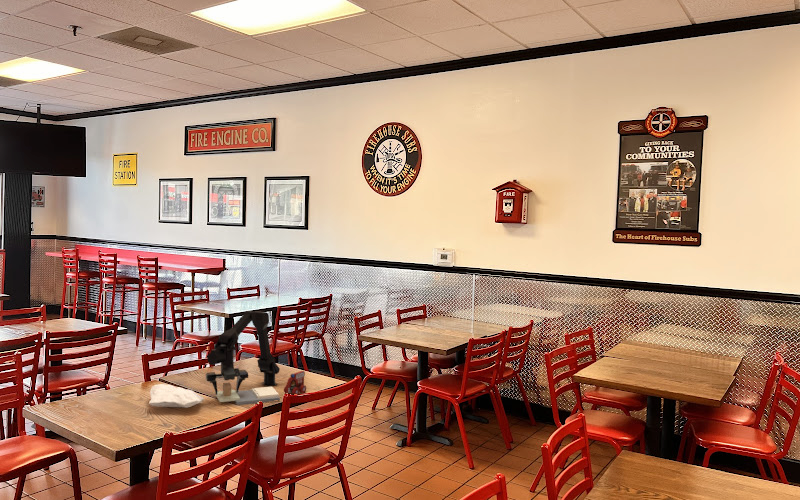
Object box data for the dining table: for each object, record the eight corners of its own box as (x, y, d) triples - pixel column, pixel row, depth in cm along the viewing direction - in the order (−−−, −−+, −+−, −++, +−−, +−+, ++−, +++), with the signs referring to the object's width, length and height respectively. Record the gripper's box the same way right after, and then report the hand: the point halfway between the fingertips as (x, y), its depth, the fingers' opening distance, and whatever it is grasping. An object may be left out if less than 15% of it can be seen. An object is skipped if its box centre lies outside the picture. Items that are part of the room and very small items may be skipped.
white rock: (167, 418, 260) (170, 396, 260) (127, 400, 282) (130, 380, 283) (215, 414, 277) (218, 394, 278) (174, 397, 300) (177, 378, 301)
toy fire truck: (280, 395, 303) (281, 374, 302) (298, 389, 313) (298, 369, 313) (291, 397, 299) (292, 376, 298) (308, 391, 309) (309, 371, 309)
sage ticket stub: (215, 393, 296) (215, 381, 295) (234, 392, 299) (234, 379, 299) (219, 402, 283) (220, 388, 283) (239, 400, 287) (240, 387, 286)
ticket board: (229, 394, 301) (230, 388, 300) (270, 390, 309) (271, 385, 309) (236, 405, 284) (236, 399, 284) (279, 400, 293) (279, 394, 293)
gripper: (208, 366, 279) (208, 400, 280) (250, 363, 287) (250, 396, 288) (205, 360, 289) (205, 393, 290) (246, 357, 297) (245, 390, 298)
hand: (226, 393), depth 291 cm, fingers open, 9 cm apart
